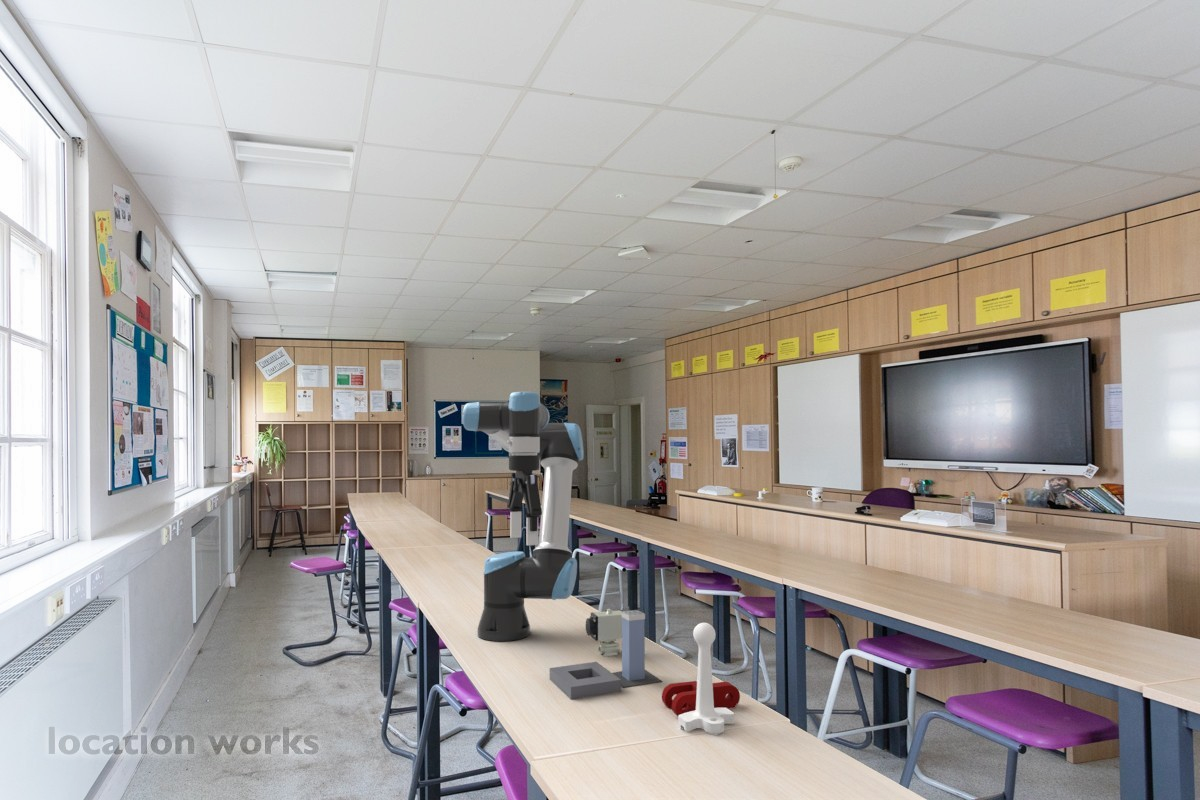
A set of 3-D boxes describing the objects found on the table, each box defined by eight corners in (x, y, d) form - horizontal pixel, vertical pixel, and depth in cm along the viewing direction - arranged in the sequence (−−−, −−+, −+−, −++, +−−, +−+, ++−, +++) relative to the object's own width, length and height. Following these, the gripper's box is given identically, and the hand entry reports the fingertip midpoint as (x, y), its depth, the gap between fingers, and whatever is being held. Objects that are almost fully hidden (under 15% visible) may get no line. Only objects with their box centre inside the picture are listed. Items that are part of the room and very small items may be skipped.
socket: (549, 681, 168) (549, 668, 168) (596, 674, 173) (596, 661, 173) (570, 701, 155) (570, 687, 155) (620, 693, 160) (620, 679, 160)
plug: (621, 675, 170) (621, 611, 171) (637, 673, 172) (637, 609, 172) (629, 681, 166) (628, 615, 167) (645, 678, 168) (645, 613, 168)
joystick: (722, 716, 147) (722, 617, 148) (743, 730, 140) (742, 626, 141) (675, 725, 142) (674, 623, 143) (694, 739, 135) (693, 632, 136)
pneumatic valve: (633, 655, 187) (633, 609, 188) (590, 660, 184) (590, 612, 184) (626, 649, 192) (626, 604, 193) (584, 653, 189) (584, 607, 190)
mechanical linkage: (675, 721, 145) (675, 696, 145) (661, 708, 151) (661, 684, 152) (745, 712, 150) (745, 687, 150) (729, 700, 156) (729, 677, 157)
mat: (605, 676, 171) (605, 673, 171) (642, 670, 175) (642, 668, 175) (623, 689, 162) (623, 686, 162) (662, 683, 166) (662, 680, 166)
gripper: (496, 453, 186) (495, 535, 185) (524, 455, 163) (524, 549, 162) (523, 453, 189) (523, 534, 188) (555, 455, 166) (555, 547, 165)
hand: (523, 541), depth 175 cm, fingers open, 13 cm apart
